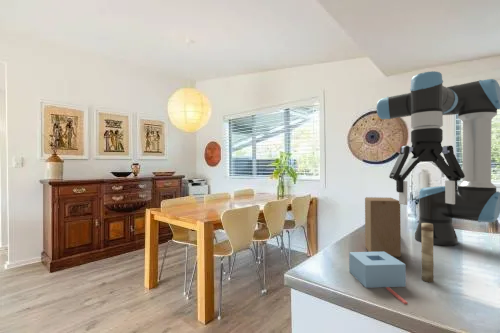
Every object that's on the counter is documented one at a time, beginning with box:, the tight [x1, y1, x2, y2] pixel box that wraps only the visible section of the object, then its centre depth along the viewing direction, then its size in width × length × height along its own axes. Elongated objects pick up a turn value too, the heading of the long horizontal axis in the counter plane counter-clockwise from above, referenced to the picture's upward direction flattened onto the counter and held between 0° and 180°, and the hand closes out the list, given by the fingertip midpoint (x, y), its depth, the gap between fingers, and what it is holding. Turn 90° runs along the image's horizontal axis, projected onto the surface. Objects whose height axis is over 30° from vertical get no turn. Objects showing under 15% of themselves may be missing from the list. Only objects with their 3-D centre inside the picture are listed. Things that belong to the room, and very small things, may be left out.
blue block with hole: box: [348, 251, 407, 289], centre depth 79 cm, size 11×11×6 cm
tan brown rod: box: [421, 223, 435, 283], centre depth 78 cm, size 3×3×16 cm
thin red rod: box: [385, 287, 408, 305], centre depth 69 cm, size 1×8×1 cm, turn 2°
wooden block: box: [364, 196, 402, 258], centre depth 103 cm, size 10×10×20 cm
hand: (426, 204), depth 78 cm, fingers open, 13 cm apart
